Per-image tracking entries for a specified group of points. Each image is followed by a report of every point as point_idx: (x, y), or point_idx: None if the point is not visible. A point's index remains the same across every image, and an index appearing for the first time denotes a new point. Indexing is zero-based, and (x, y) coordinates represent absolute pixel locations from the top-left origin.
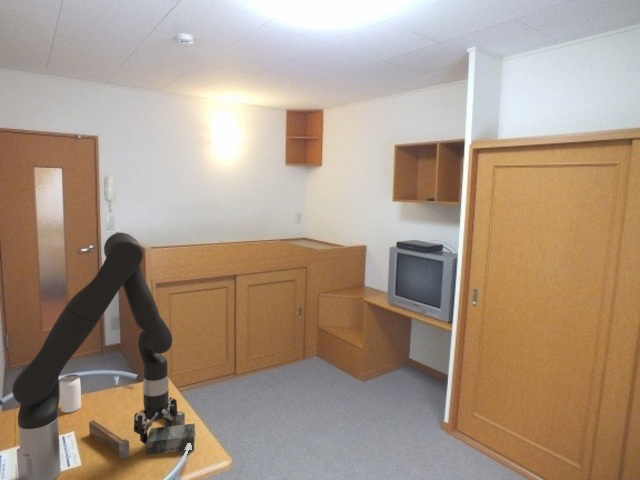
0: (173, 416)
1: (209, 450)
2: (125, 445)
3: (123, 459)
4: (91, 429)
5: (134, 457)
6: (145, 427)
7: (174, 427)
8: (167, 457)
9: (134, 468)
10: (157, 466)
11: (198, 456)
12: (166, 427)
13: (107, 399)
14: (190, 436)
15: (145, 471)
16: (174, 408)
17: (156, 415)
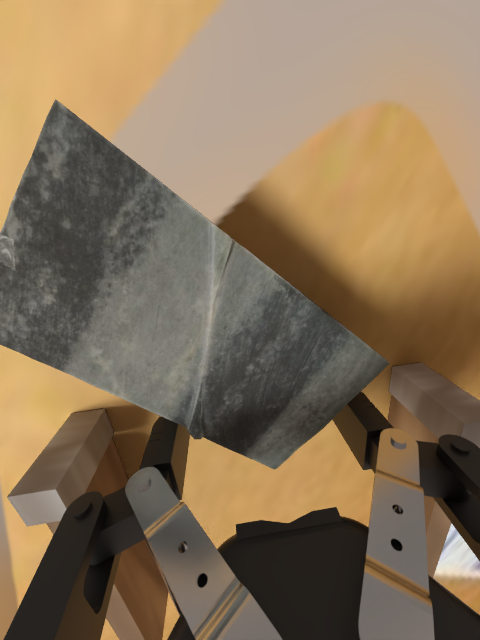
0: (112, 496)
1: (9, 40)
2: (473, 408)
3: (420, 362)
4: None
5: (384, 346)
6: (419, 477)
7: (155, 390)
8: (284, 224)
9: (440, 268)
10: (369, 188)
11: (122, 46)
12: (203, 422)
13: None
14: (89, 133)
15: (431, 199)
16: (55, 612)
17: (380, 608)
